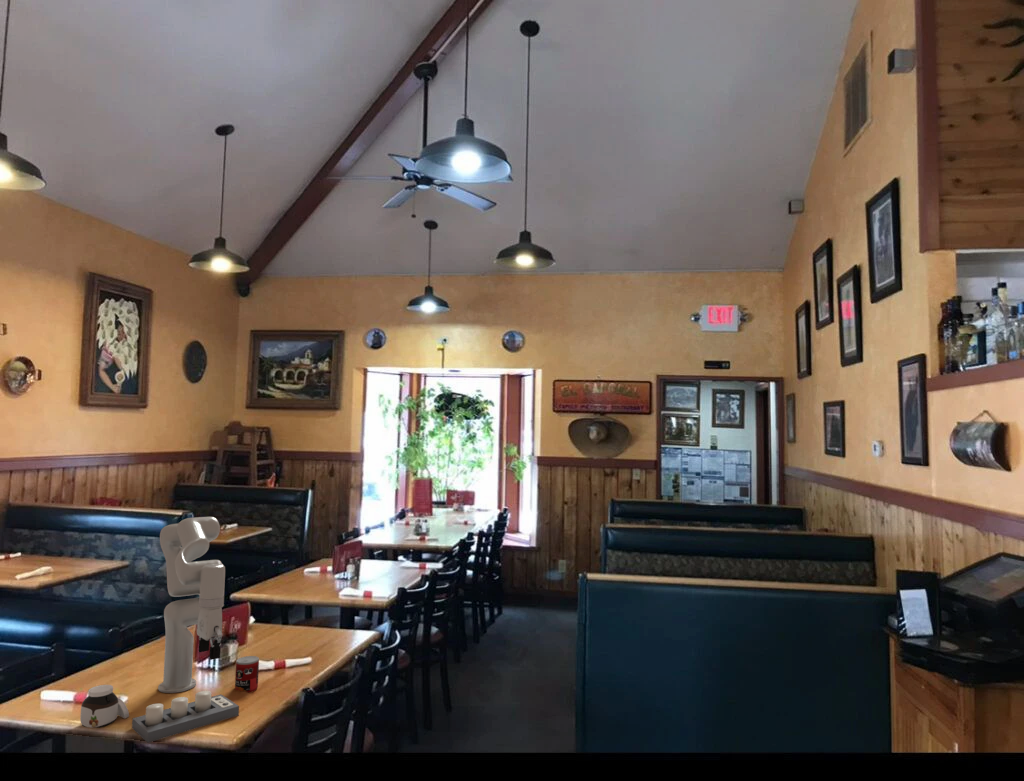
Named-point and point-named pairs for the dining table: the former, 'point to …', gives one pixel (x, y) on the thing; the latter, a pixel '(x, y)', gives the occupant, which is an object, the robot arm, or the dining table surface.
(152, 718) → the button
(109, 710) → the spread jar
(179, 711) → the button
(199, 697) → the button
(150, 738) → the board
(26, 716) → the dining table surface
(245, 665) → the canned food
